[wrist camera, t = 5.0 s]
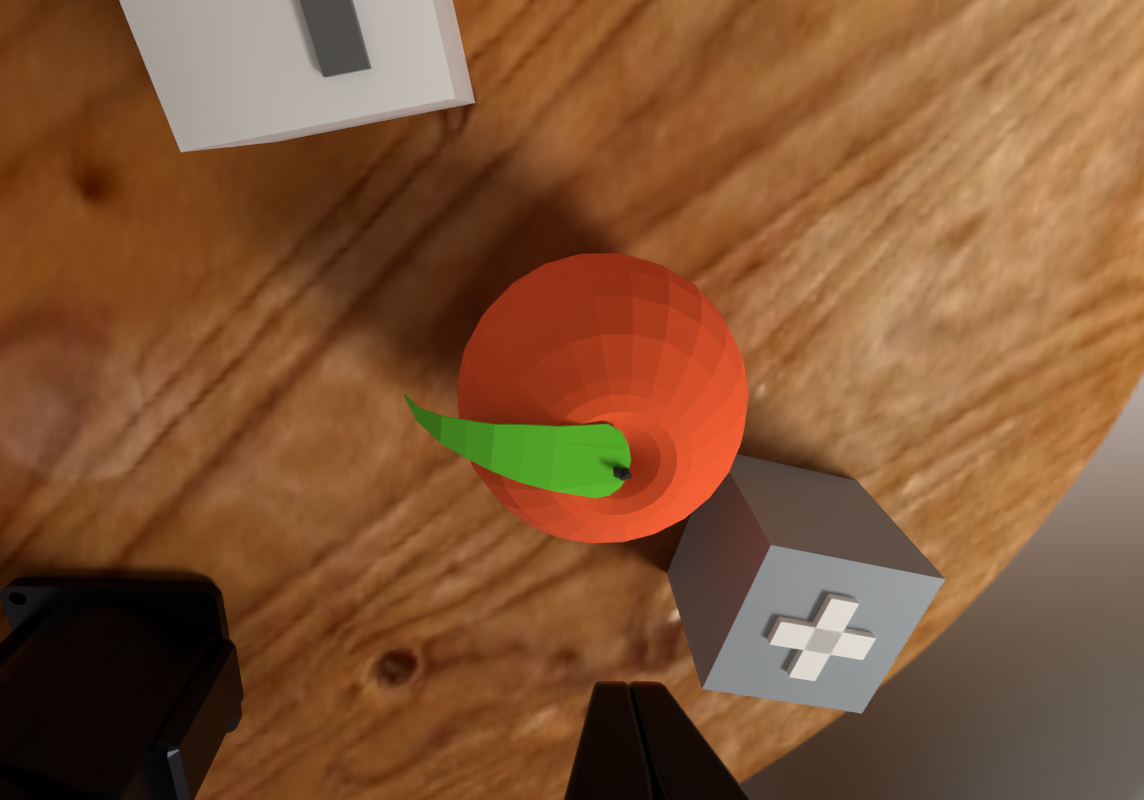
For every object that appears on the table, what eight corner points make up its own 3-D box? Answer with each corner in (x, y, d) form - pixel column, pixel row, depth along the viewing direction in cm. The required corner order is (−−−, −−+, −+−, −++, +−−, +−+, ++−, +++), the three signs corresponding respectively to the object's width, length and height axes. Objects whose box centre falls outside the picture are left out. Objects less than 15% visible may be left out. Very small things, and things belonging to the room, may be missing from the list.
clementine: (425, 441, 20) (376, 603, 13) (436, 208, 17) (380, 267, 10) (679, 463, 20) (751, 625, 14) (729, 245, 18) (846, 321, 11)
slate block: (666, 571, 22) (704, 694, 18) (716, 448, 20) (773, 549, 16) (796, 594, 23) (865, 719, 18) (855, 479, 21) (949, 584, 16)
